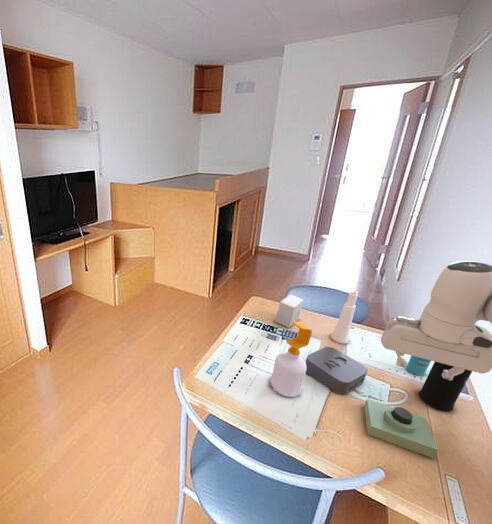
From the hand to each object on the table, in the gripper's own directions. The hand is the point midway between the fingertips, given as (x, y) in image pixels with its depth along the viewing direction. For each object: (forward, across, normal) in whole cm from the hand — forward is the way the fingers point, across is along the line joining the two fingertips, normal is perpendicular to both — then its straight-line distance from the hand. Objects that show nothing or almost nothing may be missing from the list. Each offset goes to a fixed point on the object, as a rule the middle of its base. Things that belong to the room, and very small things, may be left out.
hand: (422, 371), depth 78 cm
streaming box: (+21, -15, +16) cm, 30 cm away
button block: (+21, 0, 0) cm, 21 cm away
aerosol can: (+21, +13, +19) cm, 31 cm away
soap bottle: (+21, -29, +2) cm, 36 cm away
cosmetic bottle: (+21, -12, +41) cm, 48 cm away
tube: (+21, +11, +33) cm, 41 cm away
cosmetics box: (+21, -32, +45) cm, 59 cm away
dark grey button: (+16, 0, 0) cm, 16 cm away
